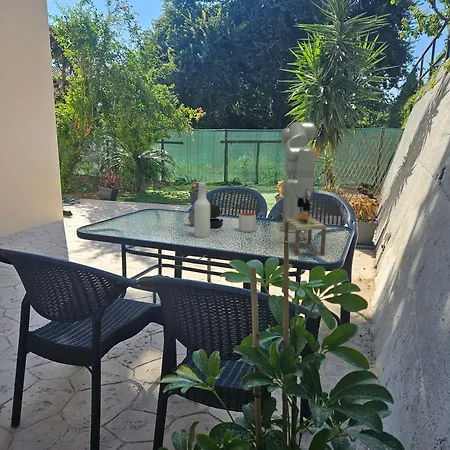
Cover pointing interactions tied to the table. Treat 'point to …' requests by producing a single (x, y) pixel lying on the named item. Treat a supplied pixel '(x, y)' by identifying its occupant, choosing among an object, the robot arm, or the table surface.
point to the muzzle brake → (214, 213)
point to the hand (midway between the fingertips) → (303, 208)
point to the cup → (247, 222)
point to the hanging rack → (311, 225)
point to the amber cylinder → (303, 217)
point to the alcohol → (202, 213)
